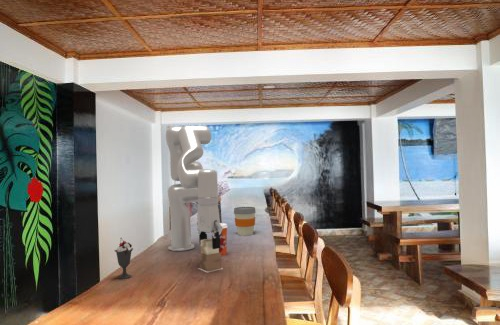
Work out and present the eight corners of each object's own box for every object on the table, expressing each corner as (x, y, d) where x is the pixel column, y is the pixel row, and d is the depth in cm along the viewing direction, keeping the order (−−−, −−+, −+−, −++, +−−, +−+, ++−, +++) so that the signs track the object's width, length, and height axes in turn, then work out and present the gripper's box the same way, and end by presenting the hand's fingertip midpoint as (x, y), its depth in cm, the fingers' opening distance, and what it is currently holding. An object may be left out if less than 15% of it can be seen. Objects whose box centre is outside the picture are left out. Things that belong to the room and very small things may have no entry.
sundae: (116, 280, 134) (115, 239, 134) (114, 276, 140) (112, 236, 140) (135, 277, 137) (134, 236, 137) (132, 273, 143) (130, 234, 143)
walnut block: (199, 268, 144) (199, 252, 144) (213, 265, 147) (212, 250, 147) (207, 271, 139) (207, 255, 139) (221, 268, 142) (220, 252, 142)
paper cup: (226, 258, 161) (225, 225, 161) (209, 257, 163) (208, 225, 163) (230, 253, 169) (229, 222, 169) (214, 253, 170) (213, 222, 170)
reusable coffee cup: (256, 235, 208) (255, 208, 209) (234, 236, 209) (233, 209, 209) (256, 231, 221) (255, 206, 221) (235, 232, 221) (234, 207, 221)
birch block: (200, 252, 144) (200, 239, 144) (212, 250, 147) (211, 238, 147) (207, 255, 140) (207, 241, 140) (218, 252, 143) (218, 239, 143)
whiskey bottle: (202, 231, 228) (201, 179, 228) (207, 228, 238) (205, 178, 238) (219, 231, 226) (217, 178, 226) (223, 228, 236) (221, 177, 236)
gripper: (189, 201, 148) (190, 244, 148) (211, 204, 134) (213, 251, 134) (205, 199, 152) (206, 241, 152) (228, 202, 138) (230, 248, 138)
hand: (209, 246), depth 143 cm, fingers open, 9 cm apart
